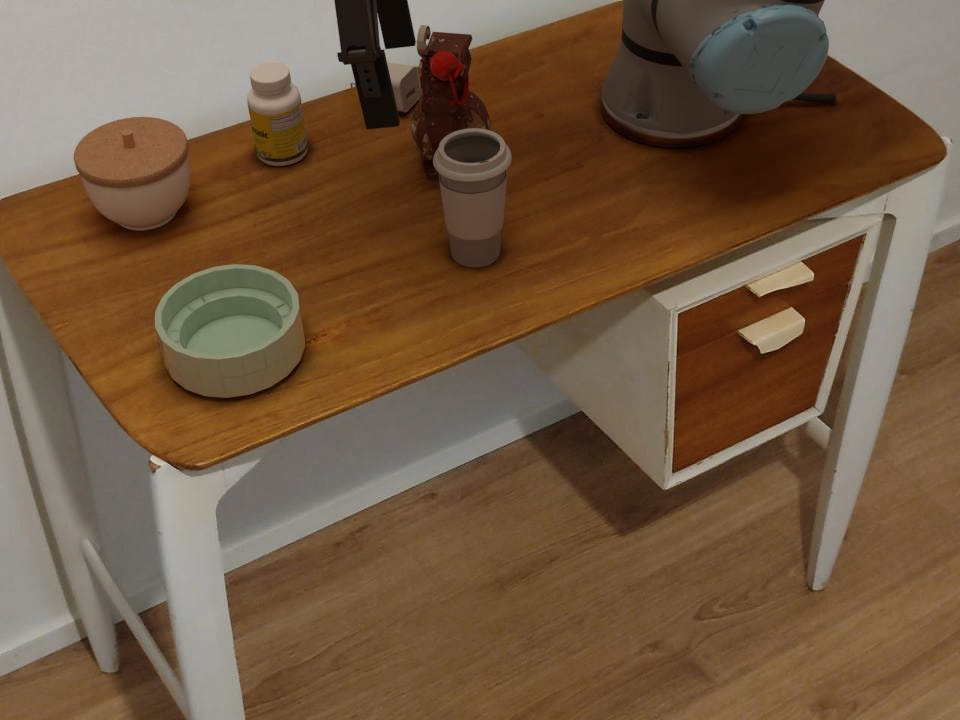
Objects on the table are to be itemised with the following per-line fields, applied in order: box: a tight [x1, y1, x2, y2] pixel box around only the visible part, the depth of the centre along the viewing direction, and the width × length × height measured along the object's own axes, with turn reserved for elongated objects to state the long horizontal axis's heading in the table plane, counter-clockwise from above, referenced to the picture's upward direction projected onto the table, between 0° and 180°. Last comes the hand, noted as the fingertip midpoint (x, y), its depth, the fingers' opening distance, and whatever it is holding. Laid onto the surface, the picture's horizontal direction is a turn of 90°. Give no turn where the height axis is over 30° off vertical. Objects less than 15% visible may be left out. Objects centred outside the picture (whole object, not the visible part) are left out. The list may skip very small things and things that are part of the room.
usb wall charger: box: [349, 61, 422, 113], centre depth 142 cm, size 4×7×4 cm, turn 64°
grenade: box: [410, 24, 492, 188], centre depth 129 cm, size 9×8×15 cm
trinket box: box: [73, 116, 192, 232], centre depth 126 cm, size 11×11×9 cm
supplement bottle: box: [246, 61, 309, 167], centre depth 133 cm, size 5×5×10 cm
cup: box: [433, 128, 513, 269], centre depth 119 cm, size 7×7×12 cm
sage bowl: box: [154, 263, 306, 399], centre depth 112 cm, size 12×12×5 cm
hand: (392, 84), depth 111 cm, fingers open, 13 cm apart
